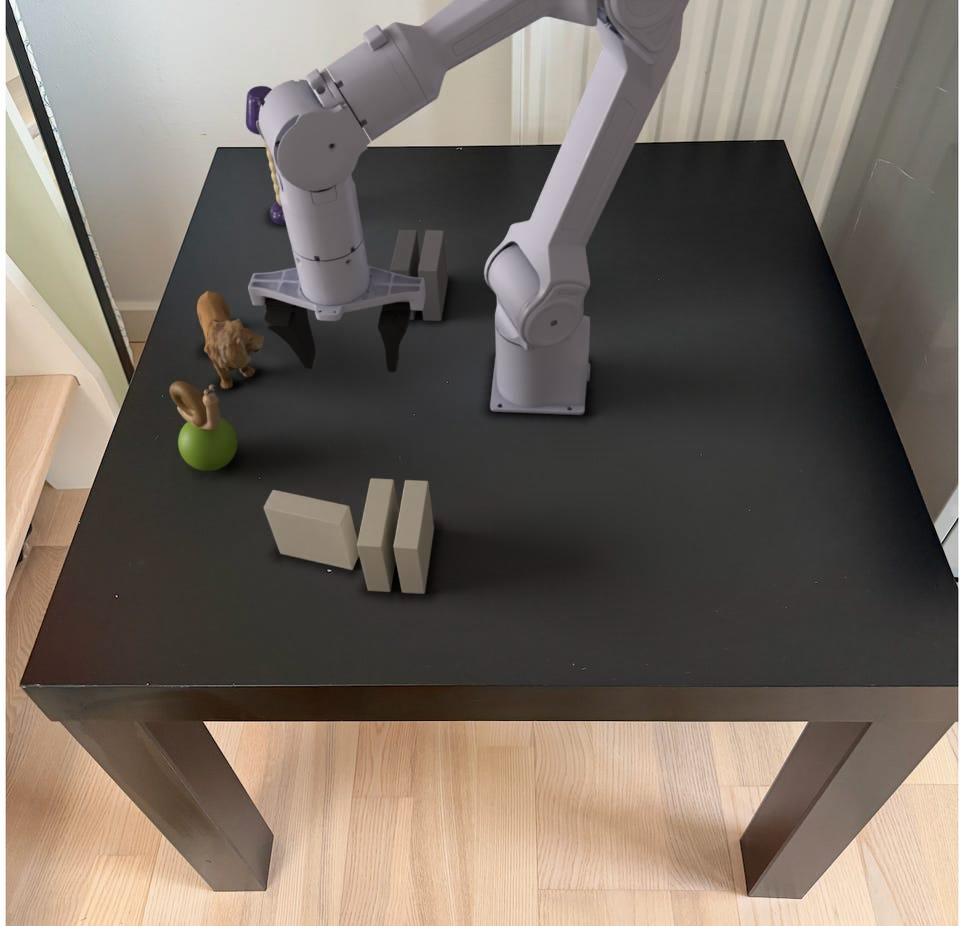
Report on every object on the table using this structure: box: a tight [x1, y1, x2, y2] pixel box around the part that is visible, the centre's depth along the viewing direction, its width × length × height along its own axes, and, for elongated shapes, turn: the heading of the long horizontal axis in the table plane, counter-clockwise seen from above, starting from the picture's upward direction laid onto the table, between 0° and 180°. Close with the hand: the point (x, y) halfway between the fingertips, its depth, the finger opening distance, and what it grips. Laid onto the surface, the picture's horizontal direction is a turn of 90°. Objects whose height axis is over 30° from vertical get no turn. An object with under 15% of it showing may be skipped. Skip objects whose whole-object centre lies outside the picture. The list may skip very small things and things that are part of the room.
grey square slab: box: [389, 229, 421, 321], centre depth 101 cm, size 2×7×7 cm, turn 175°
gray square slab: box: [418, 229, 449, 322], centre depth 100 cm, size 2×7×7 cm, turn 175°
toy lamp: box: [245, 85, 286, 226], centre depth 108 cm, size 5×5×17 cm
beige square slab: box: [263, 489, 360, 571], centre depth 79 cm, size 2×7×7 cm, turn 74°
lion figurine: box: [196, 290, 265, 390], centre depth 94 cm, size 15×5×9 cm, turn 33°
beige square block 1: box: [357, 478, 400, 593], centre depth 78 cm, size 2×7×7 cm, turn 175°
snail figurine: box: [169, 380, 238, 472], centre depth 84 cm, size 5×6×12 cm
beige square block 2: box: [394, 479, 435, 595], centre depth 78 cm, size 2×7×7 cm, turn 175°
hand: (351, 362), depth 82 cm, fingers open, 7 cm apart
